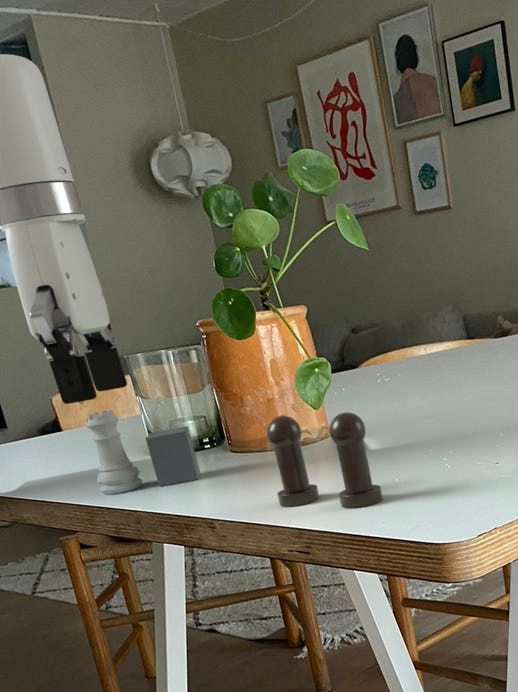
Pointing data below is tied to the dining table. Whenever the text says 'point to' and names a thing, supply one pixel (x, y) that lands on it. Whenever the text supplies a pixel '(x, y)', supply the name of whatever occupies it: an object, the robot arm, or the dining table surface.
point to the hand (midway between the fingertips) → (97, 394)
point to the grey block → (173, 456)
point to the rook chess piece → (112, 455)
